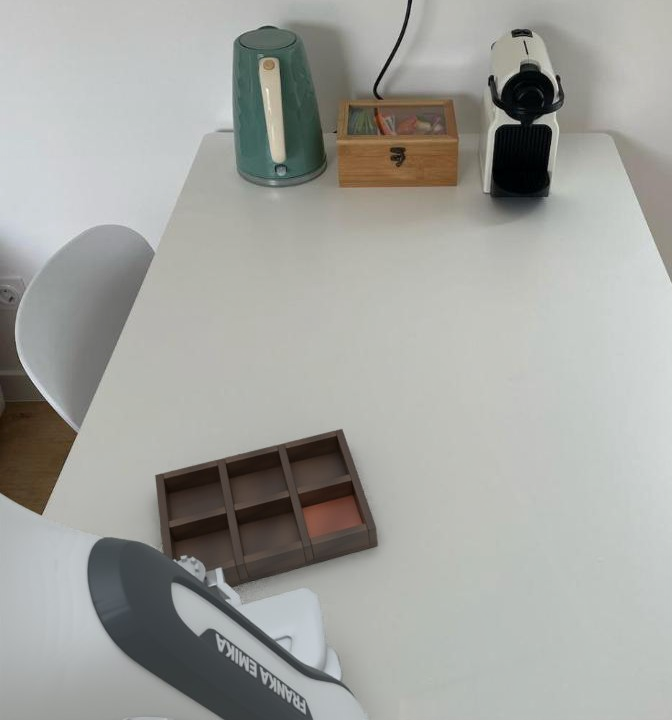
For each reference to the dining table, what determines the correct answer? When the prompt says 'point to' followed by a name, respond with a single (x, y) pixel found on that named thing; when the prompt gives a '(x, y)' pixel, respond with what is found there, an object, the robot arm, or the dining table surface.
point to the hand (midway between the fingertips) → (189, 579)
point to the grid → (267, 509)
